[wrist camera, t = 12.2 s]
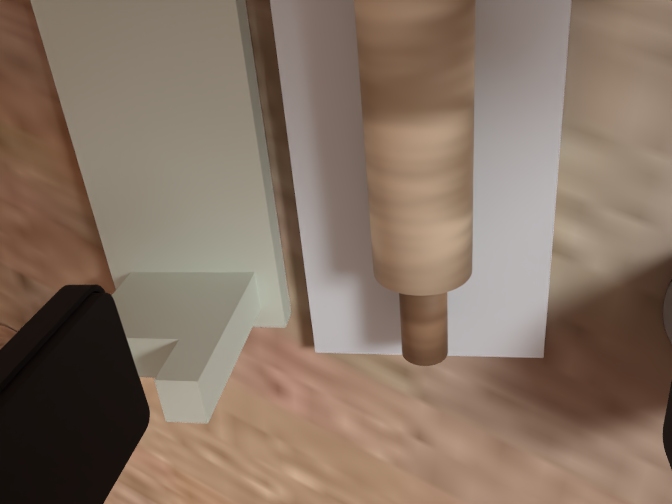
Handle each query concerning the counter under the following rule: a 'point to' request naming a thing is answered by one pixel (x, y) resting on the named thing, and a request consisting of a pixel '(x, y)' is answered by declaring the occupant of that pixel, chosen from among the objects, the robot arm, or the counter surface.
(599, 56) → the counter surface
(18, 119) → the counter surface
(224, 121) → the pin stand
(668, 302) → the coffee mug
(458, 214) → the rolling pin
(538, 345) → the pastry board
